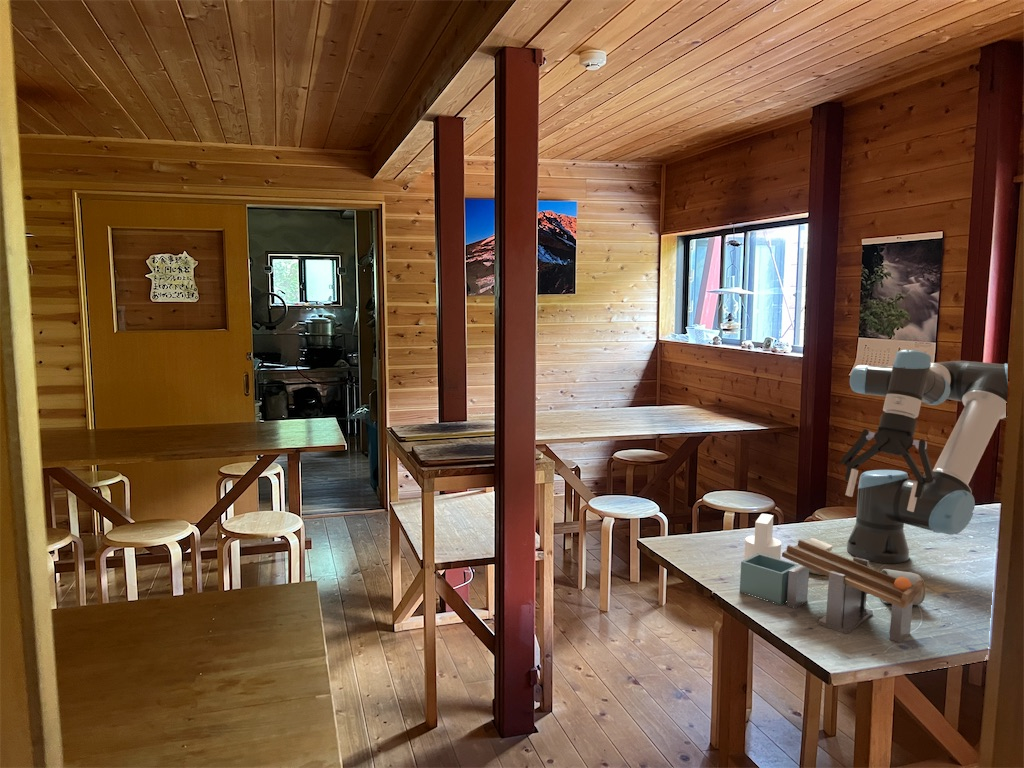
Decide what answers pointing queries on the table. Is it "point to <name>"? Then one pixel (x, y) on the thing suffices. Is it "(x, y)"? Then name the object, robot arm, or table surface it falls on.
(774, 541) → the cylinder with rectangular tab
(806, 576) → the support blocks
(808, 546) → the wooden ramp track
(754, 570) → the open box
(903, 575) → the ceramic mug
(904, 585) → the ball
